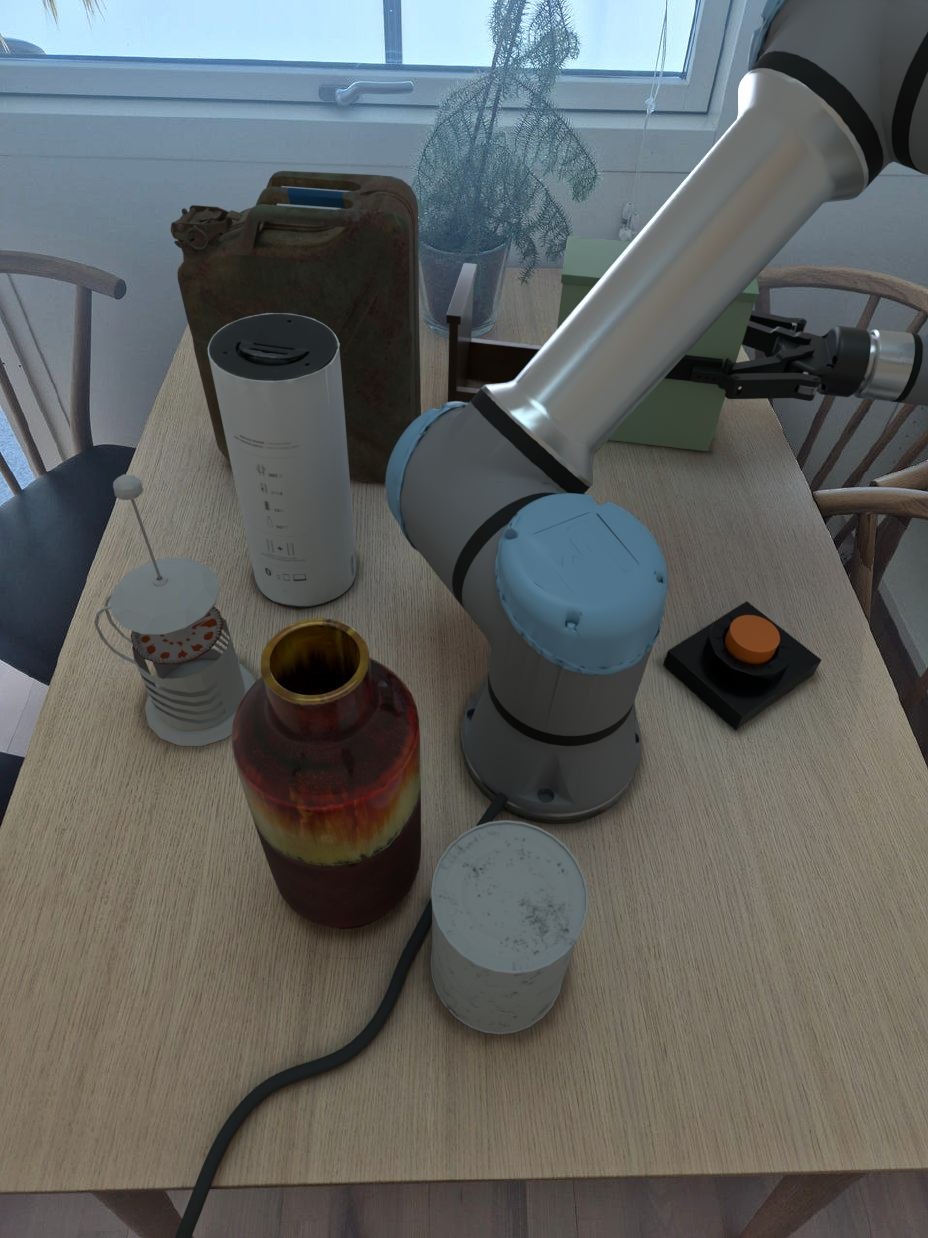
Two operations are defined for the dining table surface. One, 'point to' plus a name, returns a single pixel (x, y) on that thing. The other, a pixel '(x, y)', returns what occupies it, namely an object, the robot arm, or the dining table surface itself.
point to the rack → (477, 347)
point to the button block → (738, 670)
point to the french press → (178, 643)
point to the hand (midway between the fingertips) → (660, 342)
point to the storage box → (673, 405)
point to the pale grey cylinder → (504, 924)
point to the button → (752, 639)
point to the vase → (332, 774)
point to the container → (318, 291)
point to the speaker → (288, 453)
